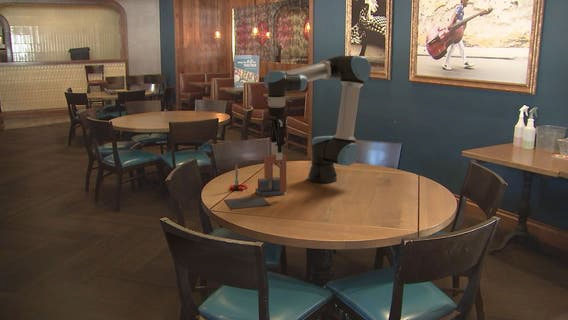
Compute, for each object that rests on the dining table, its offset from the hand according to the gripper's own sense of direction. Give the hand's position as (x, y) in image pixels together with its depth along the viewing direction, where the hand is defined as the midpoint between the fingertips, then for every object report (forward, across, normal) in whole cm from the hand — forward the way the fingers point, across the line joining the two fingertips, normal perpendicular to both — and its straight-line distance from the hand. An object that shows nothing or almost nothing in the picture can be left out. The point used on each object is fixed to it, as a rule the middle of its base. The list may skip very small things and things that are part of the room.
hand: (276, 157), depth 219 cm
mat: (+20, 0, -14) cm, 24 cm away
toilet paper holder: (+20, -6, 0) cm, 20 cm away
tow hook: (+20, -26, -12) cm, 35 cm away
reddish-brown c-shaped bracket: (+16, 0, -1) cm, 16 cm away
